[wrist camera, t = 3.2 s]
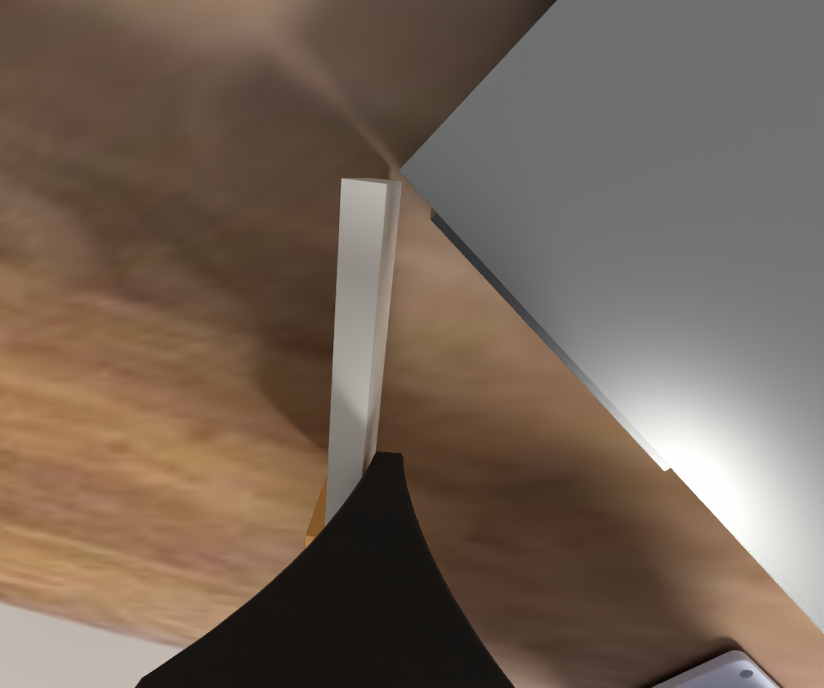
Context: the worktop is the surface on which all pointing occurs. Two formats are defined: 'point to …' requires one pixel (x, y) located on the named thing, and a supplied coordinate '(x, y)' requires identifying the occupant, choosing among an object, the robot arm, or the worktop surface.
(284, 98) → the worktop surface
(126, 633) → the worktop surface
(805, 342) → the camera housing
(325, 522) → the door
